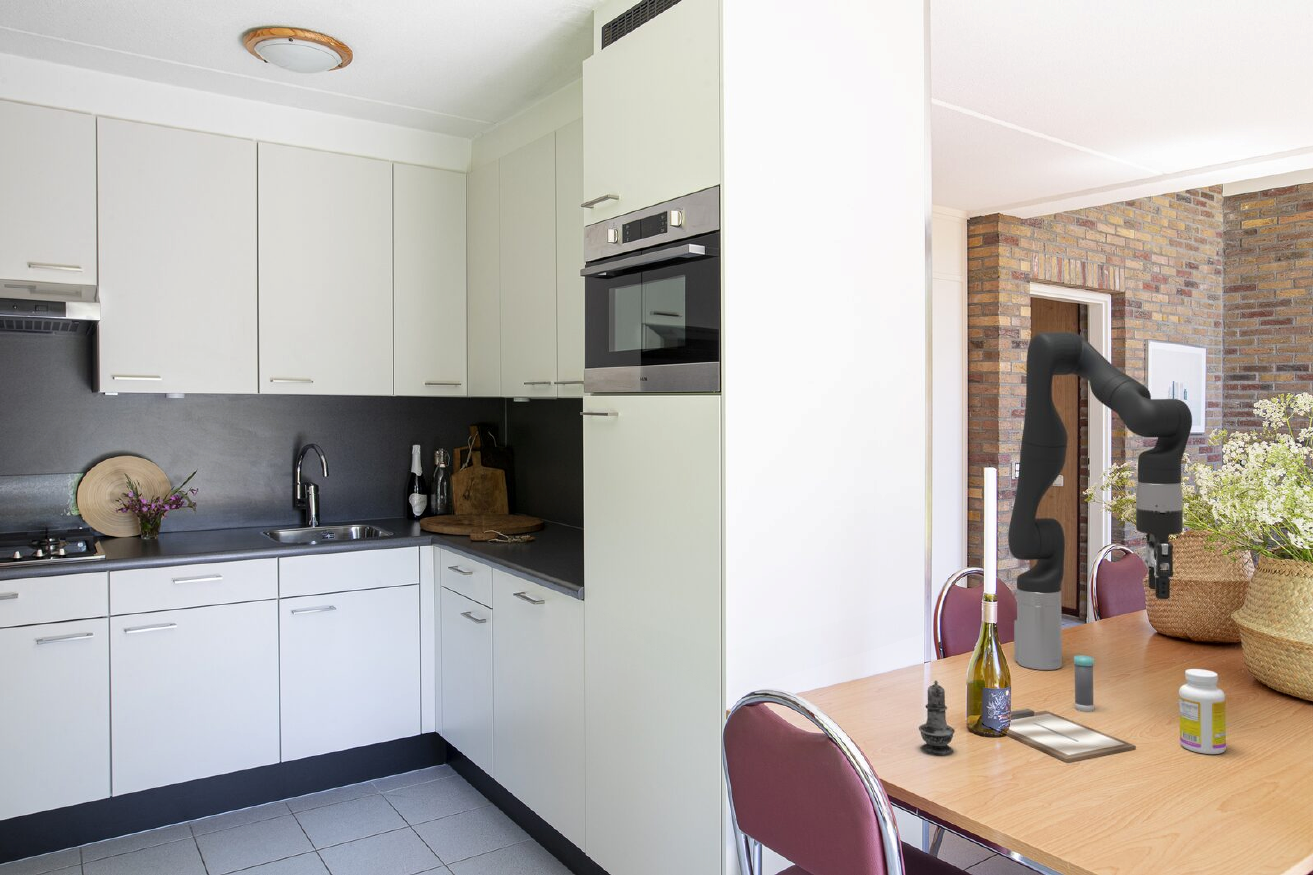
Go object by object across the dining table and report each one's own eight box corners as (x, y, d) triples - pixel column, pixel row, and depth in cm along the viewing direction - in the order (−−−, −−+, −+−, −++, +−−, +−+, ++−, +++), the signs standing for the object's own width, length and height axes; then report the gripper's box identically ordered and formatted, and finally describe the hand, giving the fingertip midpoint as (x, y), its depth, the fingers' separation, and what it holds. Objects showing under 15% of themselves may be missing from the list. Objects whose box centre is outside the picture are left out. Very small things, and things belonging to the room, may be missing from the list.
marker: (1070, 707, 172) (1069, 656, 172) (1083, 705, 173) (1083, 654, 173) (1084, 713, 169) (1084, 660, 169) (1098, 710, 170) (1097, 658, 170)
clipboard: (981, 724, 164) (981, 715, 164) (1045, 713, 169) (1045, 705, 169) (1066, 762, 145) (1066, 753, 145) (1135, 749, 150) (1135, 739, 150)
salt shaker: (955, 745, 153) (954, 676, 153) (954, 758, 148) (954, 686, 148) (919, 742, 155) (918, 674, 155) (918, 754, 150) (917, 683, 150)
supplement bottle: (1222, 744, 152) (1222, 669, 151) (1229, 758, 146) (1228, 680, 145) (1177, 739, 154) (1176, 665, 154) (1181, 752, 148) (1181, 675, 148)
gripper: (1131, 502, 173) (1131, 585, 173) (1141, 510, 159) (1141, 600, 160) (1175, 503, 170) (1175, 587, 170) (1189, 512, 157) (1189, 603, 157)
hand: (1158, 593), depth 165 cm, fingers open, 8 cm apart
